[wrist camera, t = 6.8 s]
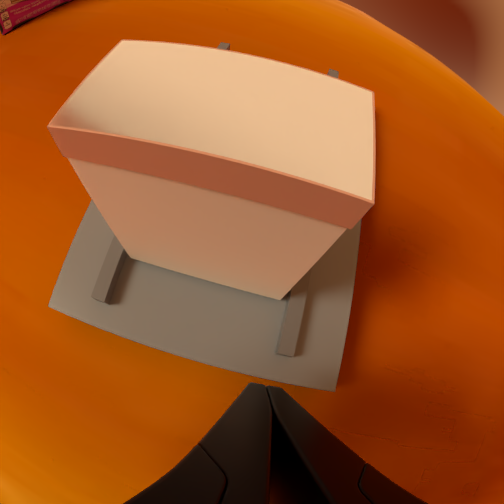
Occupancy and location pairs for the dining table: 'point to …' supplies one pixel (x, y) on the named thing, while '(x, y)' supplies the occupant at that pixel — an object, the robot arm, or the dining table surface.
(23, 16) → the candy bar box
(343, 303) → the toy road segment
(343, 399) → the dining table surface
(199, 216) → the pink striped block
